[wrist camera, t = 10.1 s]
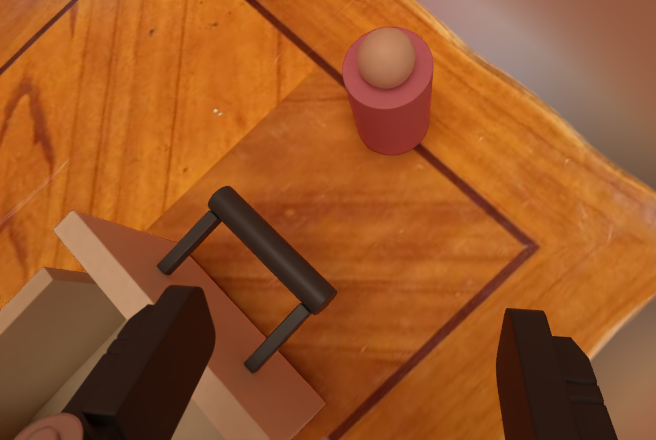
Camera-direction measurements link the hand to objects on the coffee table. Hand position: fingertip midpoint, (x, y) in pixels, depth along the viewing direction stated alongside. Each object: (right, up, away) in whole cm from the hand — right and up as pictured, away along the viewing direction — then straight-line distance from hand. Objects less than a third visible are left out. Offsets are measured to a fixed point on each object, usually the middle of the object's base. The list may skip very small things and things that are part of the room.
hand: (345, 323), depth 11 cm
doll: (+3, +8, +16) cm, 19 cm away
